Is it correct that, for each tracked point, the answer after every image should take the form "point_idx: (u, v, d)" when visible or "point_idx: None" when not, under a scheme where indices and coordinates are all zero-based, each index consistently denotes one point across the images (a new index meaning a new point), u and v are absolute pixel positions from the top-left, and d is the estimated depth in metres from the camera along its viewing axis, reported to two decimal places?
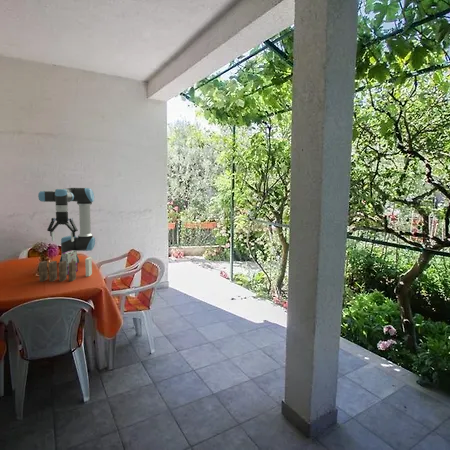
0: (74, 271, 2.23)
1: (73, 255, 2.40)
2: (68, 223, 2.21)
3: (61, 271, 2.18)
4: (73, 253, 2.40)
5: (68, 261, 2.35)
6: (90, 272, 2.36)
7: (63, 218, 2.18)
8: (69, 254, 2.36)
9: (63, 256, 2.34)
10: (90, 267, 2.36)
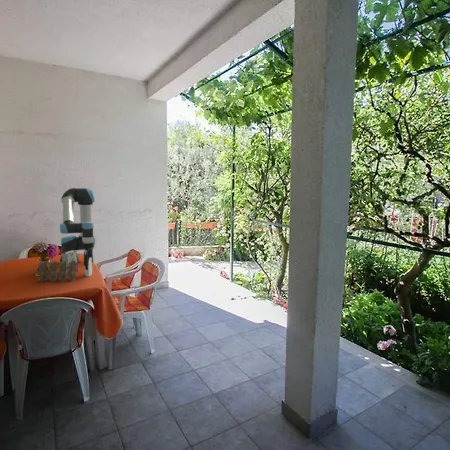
0: (74, 271, 2.23)
1: (73, 255, 2.40)
2: (88, 255, 2.31)
3: (61, 271, 2.18)
4: (73, 253, 2.40)
5: (68, 261, 2.35)
6: (90, 272, 2.36)
7: None
8: (69, 254, 2.36)
9: (63, 256, 2.34)
10: (90, 267, 2.36)
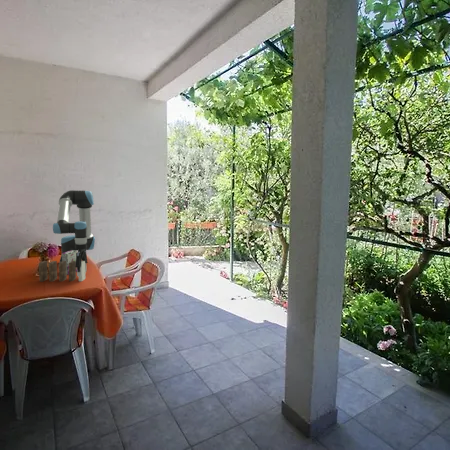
0: (74, 271, 2.23)
1: (73, 255, 2.40)
2: (80, 257, 2.19)
3: (61, 271, 2.18)
4: (73, 253, 2.40)
5: (68, 261, 2.35)
6: (83, 277, 2.24)
7: None
8: (69, 254, 2.36)
9: (63, 256, 2.34)
10: (83, 271, 2.24)
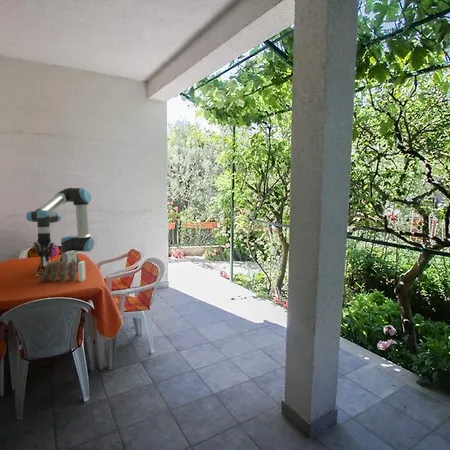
0: (74, 271, 2.23)
1: (73, 255, 2.40)
2: (47, 246, 2.19)
3: (61, 271, 2.18)
4: (73, 253, 2.40)
5: (68, 261, 2.35)
6: (83, 277, 2.24)
7: (47, 238, 2.17)
8: (69, 254, 2.36)
9: (63, 256, 2.34)
10: (83, 271, 2.24)
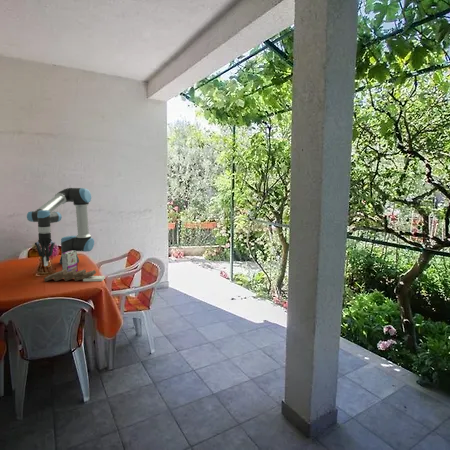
0: None
1: (73, 255, 2.40)
2: (48, 246, 2.19)
3: (74, 276, 2.20)
4: (73, 253, 2.40)
5: (68, 261, 2.35)
6: None
7: (47, 238, 2.17)
8: (69, 254, 2.36)
9: (63, 256, 2.34)
10: None
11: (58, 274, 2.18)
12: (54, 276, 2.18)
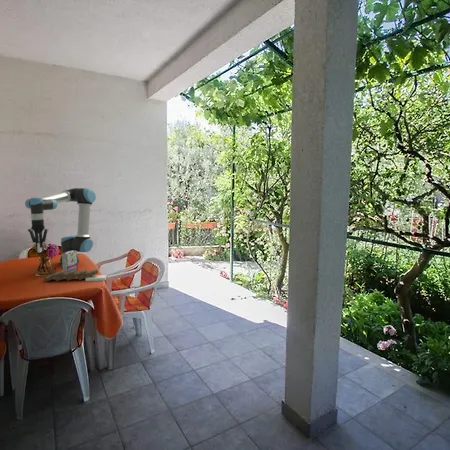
0: None
1: (73, 255, 2.40)
2: (41, 232, 2.24)
3: (77, 276, 2.21)
4: (73, 253, 2.40)
5: (68, 261, 2.35)
6: None
7: (40, 225, 2.21)
8: (69, 254, 2.36)
9: (63, 256, 2.34)
10: None
11: (59, 274, 2.18)
12: (55, 276, 2.18)
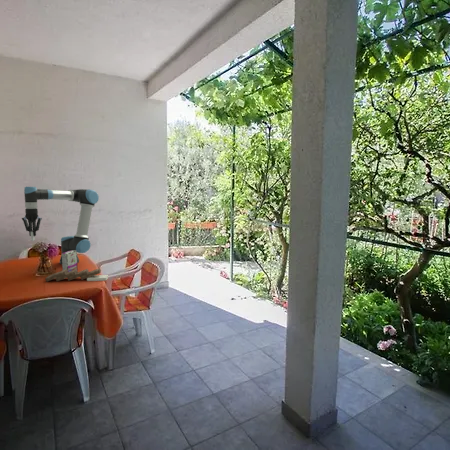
0: None
1: (73, 255, 2.40)
2: (35, 221, 2.27)
3: (78, 276, 2.22)
4: (73, 253, 2.40)
5: (68, 261, 2.35)
6: None
7: (34, 214, 2.24)
8: (69, 254, 2.36)
9: (63, 256, 2.34)
10: None
11: (60, 274, 2.19)
12: (56, 276, 2.18)
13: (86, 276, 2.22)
